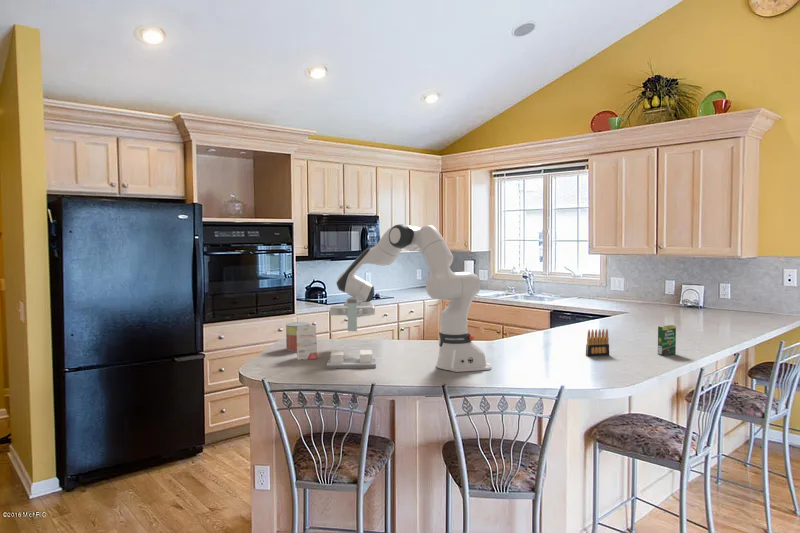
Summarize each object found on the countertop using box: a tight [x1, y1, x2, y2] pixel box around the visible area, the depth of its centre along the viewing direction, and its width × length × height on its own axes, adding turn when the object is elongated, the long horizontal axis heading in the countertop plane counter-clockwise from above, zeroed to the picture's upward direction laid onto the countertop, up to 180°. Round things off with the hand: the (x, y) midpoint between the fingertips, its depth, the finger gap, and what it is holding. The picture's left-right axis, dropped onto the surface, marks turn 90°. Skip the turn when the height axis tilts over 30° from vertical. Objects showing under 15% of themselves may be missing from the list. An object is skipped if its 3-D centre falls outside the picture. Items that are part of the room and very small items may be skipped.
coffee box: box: [657, 324, 677, 356], centre depth 258 cm, size 8×3×13 cm, turn 107°
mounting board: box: [326, 349, 377, 370], centre depth 239 cm, size 20×12×5 cm, turn 94°
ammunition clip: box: [585, 328, 610, 357], centre depth 256 cm, size 11×2×12 cm, turn 102°
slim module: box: [346, 298, 358, 332], centre depth 253 cm, size 4×4×14 cm
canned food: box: [285, 321, 311, 353], centre depth 271 cm, size 11×11×12 cm
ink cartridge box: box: [296, 325, 318, 361], centre depth 251 cm, size 9×5×15 cm, turn 101°
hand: (352, 312), depth 252 cm, fingers closed on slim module, 4 cm apart
